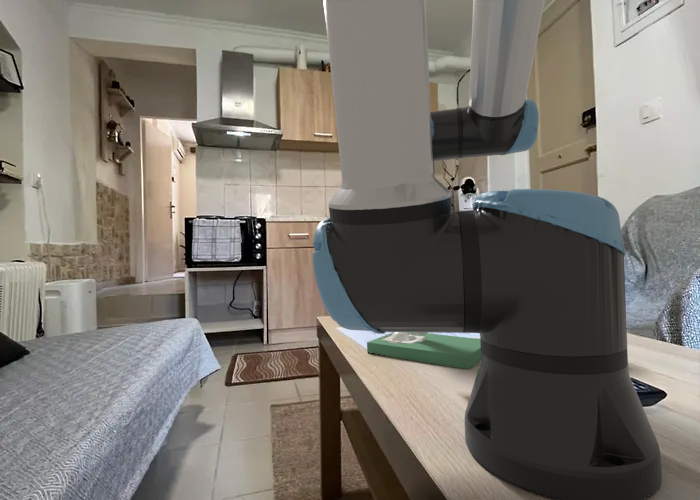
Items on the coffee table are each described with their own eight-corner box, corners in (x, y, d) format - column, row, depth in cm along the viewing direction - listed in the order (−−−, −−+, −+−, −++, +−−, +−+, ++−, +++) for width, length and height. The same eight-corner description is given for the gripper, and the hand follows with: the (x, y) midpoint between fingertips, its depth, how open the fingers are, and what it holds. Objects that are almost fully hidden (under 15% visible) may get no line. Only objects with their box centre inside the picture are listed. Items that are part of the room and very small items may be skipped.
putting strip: (468, 369, 56) (468, 356, 56) (367, 352, 68) (366, 342, 68) (491, 351, 66) (490, 340, 66) (399, 339, 77) (398, 330, 77)
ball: (409, 353, 69) (407, 342, 67) (391, 351, 70) (388, 341, 68) (411, 338, 72) (409, 327, 70) (393, 336, 73) (391, 325, 71)
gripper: (457, 205, 67) (462, 333, 66) (395, 212, 75) (399, 327, 74) (441, 200, 61) (446, 341, 60) (375, 209, 69) (380, 334, 68)
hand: (420, 333), depth 67 cm, fingers closed
